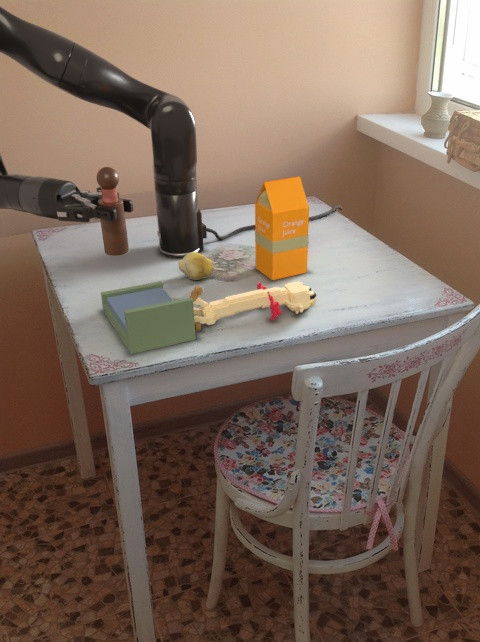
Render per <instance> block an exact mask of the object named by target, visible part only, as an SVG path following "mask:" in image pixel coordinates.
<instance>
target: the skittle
mask: <svg viewBox="0 0 480 642" xmlns="http://www.w3.org/2000/svg"><path fill="white" fill-rule="evenodd" d="M95 178H96V182H97V184H98V186H99V187H101V191H102V199H100V200H99V201H98V206H103V207H109V208H114V209H116V212H117V220H115V221H109V220H104V219H99V222H100V226H101V227H100V228H101V235H102V243H103V249H104V254H105V255H108V256H110V257H119V256H124V255H126V254H128V253H129V251H130V249H129V248H130V247H129V240H128V239H129V238H128V230H127V221H126V212H124V203H123V199H124V198H121V197H119V198H118V194H117V192H118V187H117V186H118V184H119V182H120V176H119V173H118V172H117V170H116V169H115V168H114V167H111V166H104V167H101V168H100V169H99V170H98V171H97V173H96V176H95Z"/></svg>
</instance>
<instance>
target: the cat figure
mask: <svg viewBox="0 0 480 642" xmlns="http://www.w3.org/2000/svg"><path fill="white" fill-rule="evenodd" d="M203 294H204V289H203V287H202V286H201V285H197V286H196V285H195V286H194V288H192V290H191V292H190V295H189V297H191V298H192V299H193V304H194V305H196V306H200V307H199V308H198V307H194V322H195V332H198V331H201V330H202V325H203V324H206V325H207V326H211V325H215V323H216V322H217V321H219V320H220V319H223V318H227V317H232V316H235V314H239V313H242V312H247V311H252V310H256V309H260V308H261V309H265V308H270V313H271V317H270V321H275V320H276V319H277V317H278V316H281V315H282V310H281V308H280V307H281V306H285V305H286V306H287V307H288V309H289V310H290V311H292V312H295V314H297V315H298V314H299V312H300V313H301V314H302V313H303V312H304V310H308V309H309V307H310V306H313V305H315V303H316V302H317V301H319V298H316V297H317V293H316V292H315V291H314V290H312V288H311V287H310V286H309V285H305V284H303V282H301V281H298V280H297V281H293V282H292V281H291V282H288V283H285V284H284V285H283V286H281V287H279V286H275V287H269V288H267V287H266V286H264V285H263V283H262V282H257V284H256V289H254V290H250V291H247V292H246V291H245V292H242V293H237V294H233V295H229V296H225V297H224V298H223V299H222V298H221V299H217V300H213V301H210V302H209V303H208V302H207V301H204V299H202V298H201V297H200V296H203Z"/></svg>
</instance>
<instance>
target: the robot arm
mask: <svg viewBox="0 0 480 642" xmlns="http://www.w3.org/2000/svg"><path fill="white" fill-rule="evenodd" d="M0 53H1V54H3V55H5V56H6V57H8V58H10V59H12V60H13V61H15V62H16V63H18V64H19V65H21V66H22V67H23V68H25V69H26V70H27V71H29V72H31V73H32V74H33V75H35V76H36V77H38V78H40V79H41V80H43V82H46V83H48V84H50V85H51V86H52V87H55V88H57V89H59V90H60V91H63V92H65V93H67V94H69V95H71V96H73V97H74V98H77V99H80V100H82V101H84V102H88V103H90V104H94V105H97V106H100V107H104V108H108V109H112V110H114V111H117V112H119V113H121V114H123V115H125V116H128V117H130V118H131V119H133V120H135V121H136V122H138V123H139V124H141V125H142V126H144V127H145V128H147V129H148V130H150V136H151V148H152V173H153V183H154V184H153V185H154V195H155V206H156V218H157V229H158V230H157V236H158V239H159V241H158V242H159V243H158V244H159V252H160V254H162V255H164V256H165V257H169V258H170V257H171V258H184V256H186V255H187V254H189V253H191V252H197V253H201V252H204V239H207V238H208V234H207V232H208V233H211V234H213V235H214V237H215V239H217V240H219V241H224V240H227V239H229V238H231V237H233V236H235V235H236V234H238V233H240V232H242V231H243V232H244V231H246V230H251V229H255V224H252V225H251V224H250V225H245V226H241V227H239V228H237V229H235V230H233V231H231V232H230V233H228V234H227V235H225V236H220V235H219V234H218V232H217V231H216V230H214V229H212V228H209V227H207V225H206V224H205V223H203V213H202V210H201V209H200V208H199V199H198V182H197V181H198V180H197V163H198V151H197V128H196V119H195V116H194V113H193V112H192V110H191V109H190V107H189V106H188V105H187V103H186V102H185V101H184V100H183V99H182V98H180V97H178V96H177V95H174V94H171V93H169V92H166V91H164V90H161V89H158V88H156V87H154V86H152V85H150V84H147V83H145V82H142V81H140V80H138V79H137V78H135V77H133V76H131V75H129V74H128V73H126V72H125V71H124V70H123V69H121V68H119V67H118V66H116V65H114V64H113V63H111V62H110V61H108V60H107V59H105V58H104V57H101V56H100V55H99V54H96V53H95V52H94V51H92V50H90V49H88V48H86V47H84V46H83V45H81V44H79V43H77V42H75V41H74V40H72V39H69V38H67V37H65V36H64V35H62V34H60V33H59V34H58V33H57V32H54V31H52V30H50V29H48V28H44V27H42V26H39V25H37V24H35V23H32V22H29V21H27V20H25V19H22V18H20V17H19V16H17V15H15V14H13V13H11V12H9V10H6V9H5V8H3V7H2V6H0ZM117 194H118V198H120V193H119V192H118V191H117ZM100 199H102V191H101V186H98V187H96V191H90V190H88V189H87V190H85V189H84V190H82V189H81V190H80V189H79V187H78V186H77V185H76V184H75V183H74V182H73V181H70V180H65V179H59V178H52V177H46V176H31V175H26V174H20V173H19V174H18V173H8V170H7V167H6V165H5V163H4V159H3V156H2V155H1V153H0V210H13V211H17V212H23V213H28V214H31V215H34V216H38V217H41V218H48V219H54V220H57V221H58V222H59V221H60V222H71V223H73V222H76V223H90V220H93V221H98V220H100V219H104V220H109V221H115V220H117V212H116V209H114V208H109V207H103V206H98V201H99V200H100ZM122 199H123V203H124V212H125V213H132V212H133V211H134V204H133V203H134V202H133V201H132V200H131V199H126V198H122ZM336 210H340V211H344V207H342V206H341V205H335V206H333V207H332V208H330V209H329V210H328V211H326V212H322V213H319V214H316V215H313V216H309V221H312V220H313V221H314V220H317V219H319V218H323V217H326V216H328V215H331V214H332V213H334V211H336Z"/></svg>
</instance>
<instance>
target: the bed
mask: <svg viewBox="0 0 480 642" xmlns="http://www.w3.org/2000/svg"><path fill="white" fill-rule="evenodd" d="M100 297H101V303H102V310H103V312H104V314H105V316H106V317H107V319H108V321H109V322H110V324H111V326H112V327H113V328H114V330H115V332H116V333H117V335H118V336H119V338H120V339H121V341H122V343H123V345H125V347H126V349H127V350H128V352H129V353H130V355H132V354H133V355H134V354H139V353H143V352H147V351H152V350H157V349H160V348H164V347H170V346H174V345H178V344H182V343H187V342H191V341H195V340H196V338H197V337H196V330H195V322H194V308H195V307H194V303H193V299H192V298H191V297H190V296H189V297H184V298H179V299H172V297H170V295H169V294H168V292H166V291H165V289H164V282H163V281H153V282H150V283H144V284H138V285H133V286H128V287H123V288H118V289H112V290H105V291H101V292H100Z"/></svg>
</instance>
